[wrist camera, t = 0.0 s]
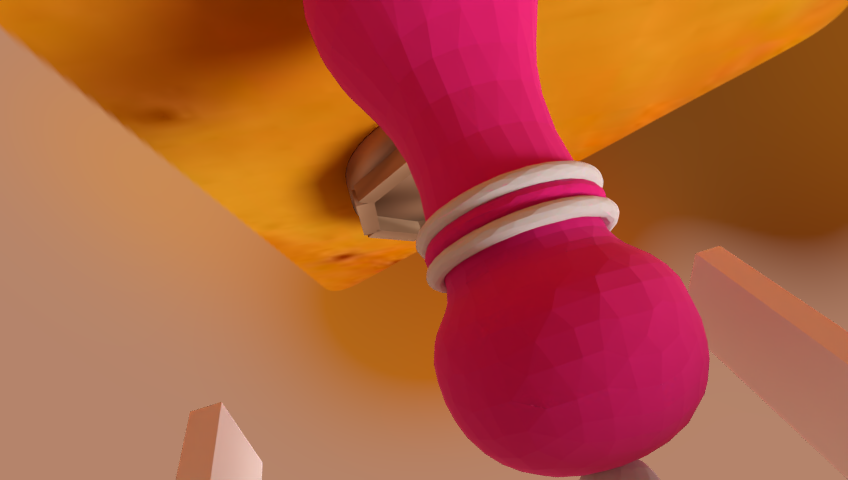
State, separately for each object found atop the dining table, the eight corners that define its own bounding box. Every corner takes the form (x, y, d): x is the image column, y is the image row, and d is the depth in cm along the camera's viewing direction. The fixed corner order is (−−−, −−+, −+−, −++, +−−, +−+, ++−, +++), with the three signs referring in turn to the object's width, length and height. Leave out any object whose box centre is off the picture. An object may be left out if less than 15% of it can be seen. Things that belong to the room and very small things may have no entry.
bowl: (328, 124, 26) (341, 172, 25) (555, 68, 28) (577, 110, 27) (358, 222, 39) (368, 256, 38) (511, 179, 41) (525, 211, 40)
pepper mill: (297, 13, 19) (452, 563, 12) (249, -213, 12) (534, 731, 5) (462, -13, 20) (684, 470, 13) (500, -230, 13) (982, 514, 7)
